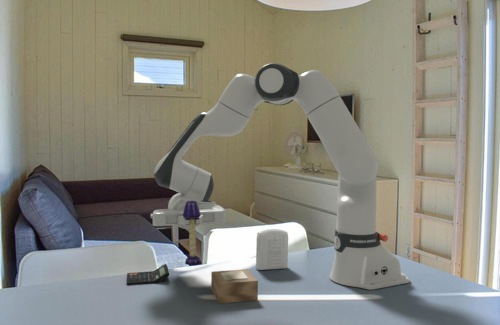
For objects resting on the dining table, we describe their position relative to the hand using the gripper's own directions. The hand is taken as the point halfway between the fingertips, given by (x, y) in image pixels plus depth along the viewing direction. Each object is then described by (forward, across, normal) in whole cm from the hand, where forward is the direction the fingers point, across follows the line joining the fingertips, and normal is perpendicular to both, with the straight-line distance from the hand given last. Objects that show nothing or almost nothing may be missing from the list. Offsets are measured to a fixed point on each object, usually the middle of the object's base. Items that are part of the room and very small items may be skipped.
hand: (192, 221), depth 118 cm
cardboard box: (+6, +10, +19) cm, 22 cm away
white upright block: (-14, +27, +19) cm, 36 cm away
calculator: (-14, -11, +19) cm, 26 cm away
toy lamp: (-1, 0, +12) cm, 12 cm away
